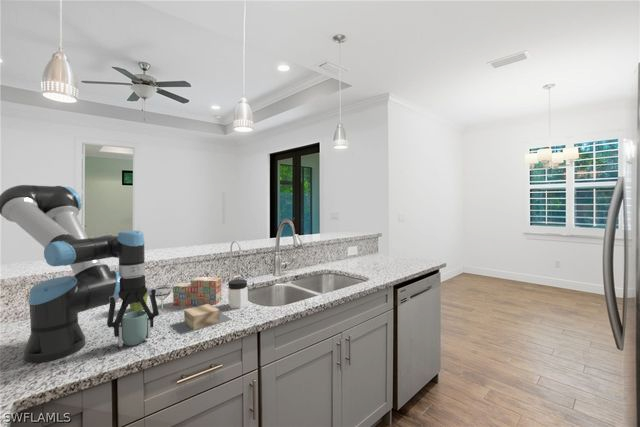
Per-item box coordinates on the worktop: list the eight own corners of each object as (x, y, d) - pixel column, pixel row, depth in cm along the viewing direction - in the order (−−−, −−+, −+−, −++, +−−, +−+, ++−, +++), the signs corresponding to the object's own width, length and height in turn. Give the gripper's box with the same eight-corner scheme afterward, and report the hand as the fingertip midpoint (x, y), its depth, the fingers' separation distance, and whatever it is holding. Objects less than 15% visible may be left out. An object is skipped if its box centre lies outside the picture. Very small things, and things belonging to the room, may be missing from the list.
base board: (180, 337, 108) (180, 334, 107) (170, 327, 116) (170, 325, 116) (232, 321, 121) (232, 319, 121) (219, 313, 130) (219, 311, 130)
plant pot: (121, 311, 134) (120, 292, 133) (139, 304, 143) (138, 286, 142) (137, 313, 131) (136, 294, 131) (154, 306, 140) (154, 288, 140)
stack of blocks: (172, 305, 142) (172, 279, 141) (180, 301, 148) (179, 276, 147) (216, 306, 140) (215, 280, 139) (222, 302, 146) (221, 277, 145)
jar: (249, 308, 136) (249, 282, 136) (231, 311, 132) (231, 285, 132) (244, 302, 144) (244, 278, 144) (227, 305, 140) (226, 280, 140)
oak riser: (193, 329, 112) (193, 316, 111) (184, 322, 119) (184, 309, 119) (219, 322, 118) (219, 309, 118) (209, 315, 126) (208, 303, 126)
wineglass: (171, 310, 134) (171, 284, 134) (170, 315, 128) (169, 288, 128) (154, 312, 132) (153, 286, 131) (152, 318, 126) (151, 290, 125)
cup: (142, 335, 109) (141, 308, 109) (151, 342, 104) (150, 313, 104) (117, 343, 103) (117, 315, 103) (126, 350, 98) (125, 320, 98)
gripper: (96, 283, 93) (99, 355, 94) (168, 272, 107) (170, 335, 108) (93, 279, 98) (96, 347, 99) (161, 269, 113) (163, 328, 113)
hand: (134, 340), depth 104 cm, fingers closed on cup, 8 cm apart
